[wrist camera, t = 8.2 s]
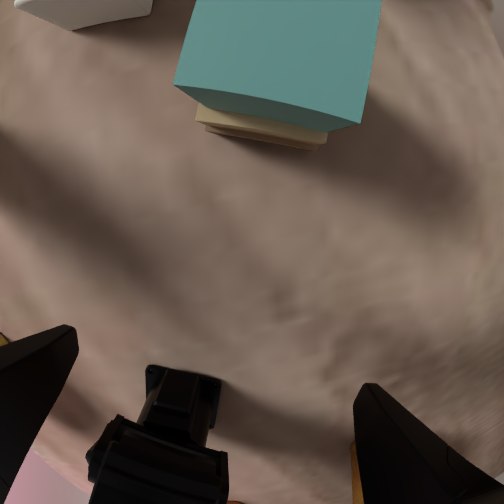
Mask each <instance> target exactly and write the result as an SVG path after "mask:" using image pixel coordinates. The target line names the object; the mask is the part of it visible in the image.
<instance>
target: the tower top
mask: <svg viewBox="0 0 504 504" xmlns="http://www.w3.org/2000/svg"><path fill="white" fill-rule="evenodd" d="M195 121H198V122H200V123H203V124H205V125H208V126H211V127H219V128H226V129H232V130H239V131H245V132H251V133H257V134H263V135H268V136H273V137H279V138H284V139H289V140H294V141H298V142H303V143H308V144H312V145H317V144H326V141H327V136H328V132H326V133H325V132H321V131H317V130H314V129H310V128H306V127H302V126H298V125H294V124H289V123H285V122H281V121H276V120H272V119H267V118H262V117H257V116H252V115H247V114H242V113H236V112H231V111H225V110H219V109H213V108H207V107H205V106H204V105H202V104H201V103H199V102H198V108H197V113H196V119H195Z"/></svg>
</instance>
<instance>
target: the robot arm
mask: <svg viewBox="0 0 504 504" xmlns="http://www.w3.org/2000/svg"><path fill="white" fill-rule="evenodd" d="M78 353H79V346H78V338H77V331H76V329H75V328H74V327H72V326H69V325H65V324H63V325H60V326H57V327H54V328H52V329H49V330H46V331H43V332H40V333H37V334H34V335H31V336H28V337H26V338H23V339H20V340H17V341H14V342H11V343H8V344H5V345H2V346H0V504H4V502H5V500H6V497H7V495H8V493H9V491H10V488H11V486H12V484H13V482H14V479H15V477H16V475H17V473H18V471H19V469H20V467H21V465H22V463H23V461H24V459H25V456H26V454H27V453H28V451H29V449H30V447H31V445H32V443H33V441H34V439H35V438H36V436H37V434H38V432H39V430H40V428H41V426H42V425H43V423H44V421H45V419H46V417H47V416H48V414H49V412H50V410H51V408H52V407H53V405H54V403H55V402H56V400H57V398H58V396H59V394H60V393H61V391H62V389H63V387H64V384H65V382H66V380H67V378H68V375H69V373H70V371H71V369H72V367H73V365H74V362H75V360H76V358H77V356H78ZM151 370H152V371H151ZM145 376H146V402H145V404H144V406H143V409H142V411H141V413H140V416H139V418H138V420H137V423H135V422H133V421H130V420H128V419H126V418H124V416H121V415H119V414H117V416H116V417H115V419H114V420H111V422H110V423H108V424H107V426H106V428H105V430H104V432H103V434H102V435H101V437H100V438H99V440H98V441H97V442H96V443H95V444H94V445H93V446H92V447H91V448H90V449H89V450H88V451H87V453H86V457H85V458H86V460H87V462H88V464H89V467H88V471H89V472H88V481H90V482H92V483H94V487H93V490H92V494H91V497H90V500H89V504H227V500H228V494H229V473H228V453H227V452H224V451H216V450H213V449H209V448H206V447H205V446H206V441H207V436H208V430H209V429H212V428H214V425H215V419H216V413H217V408H218V402H219V397H220V391H221V385H222V383H221V381H220V380H218V379H214V378H209V377H204V376H199V375H194V374H189V373H185V372H180V371H176V370H171V369H167V368H163V367H159V366H155V365H148V366H147V368H146V370H145ZM214 384H216V385H214ZM353 415H354V432H355V448H356V455H357V461H358V467H359V474H360V480H361V487H362V494H363V501H364V504H504V485H503V484H501V483H500V482H498V481H496V480H495V479H494V478H492V477H491V476H489V475H488V474H486V473H485V472H483V471H482V470H480V469H479V468H477V467H476V466H475V465H473V464H472V463H470V462H469V461H468V460H466V459H465V458H464V457H462V456H461V455H460V454H459V453H457V452H456V451H455V450H454V449H453V448H452V447H450V446H448V445H447V443H446V442H444V441H443V440H442V439H441V438H440V437H438V436H437V435H436V434H435V433H434V432H433V431H431V430H430V429H429V428H428V427H427V426H426V425H424V424H423V423H422V422H421V421H420V420H418V419H417V418H416V417H415V416H414V415H413V414H411V413H410V412H409V411H408V410H407V409H406V408H405V407H403V406H402V405H401V404H400V403H399V402H398V401H396V400H395V399H394V398H393V397H392V396H391V395H389V394H388V393H387V392H386V391H385V390H384V389H383V388H381V387H380V386H379V385H378V384H376V383H364V384H363V385H362V387H361V389H360V391H359V393H358V395H357V397H356V399H355V401H354V404H353Z"/></svg>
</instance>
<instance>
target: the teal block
mask: <svg viewBox="0 0 504 504" xmlns="http://www.w3.org/2000/svg"><path fill="white" fill-rule="evenodd" d="M380 8H381V0H197V1H196V4H195V7H194V10H193V13H192V16H191V20H190V23H189V26H188V30H187V33H186V37H185V40H184V44H183V47H182V51H181V55H180V58H179V62H178V66H177V70H176V74H175V78H174V82H173V85H174V86H176V87H177V88H179V89H180V90H182V91H183V92H185V93H186V94H188V95H189V96H191V97H192V98H194V99H195V100H197V101H198V102H199V103H201V104H202V105H204V106H205V107H207V108H213V109H219V110H225V111H231V112H236V113H242V114H247V115H252V116H257V117H262V118H267V119H272V120H276V121H281V122H285V123H289V124H294V125H298V126H302V127H306V128H310V129H314V130H317V131H321V132H325V133H326V132H330V131H334V130H337V129H341V128H345V127H349V126H353V125H357V124H361V119H362V114H363V109H364V104H365V99H366V94H367V89H368V84H369V78H370V73H371V67H372V62H373V56H374V50H375V43H376V37H377V30H378V23H379V16H380Z"/></svg>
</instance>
